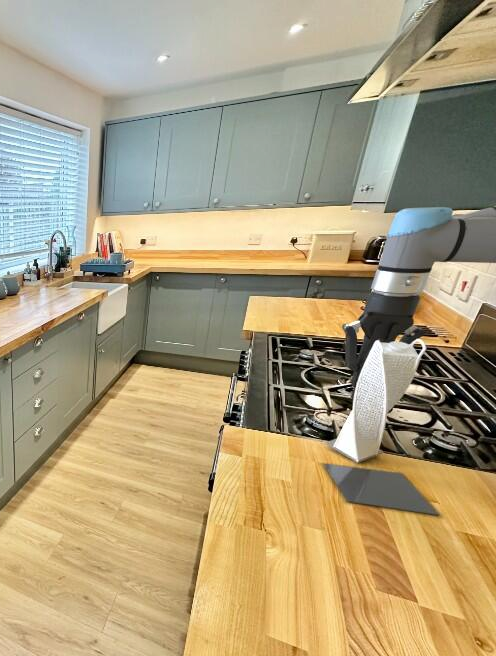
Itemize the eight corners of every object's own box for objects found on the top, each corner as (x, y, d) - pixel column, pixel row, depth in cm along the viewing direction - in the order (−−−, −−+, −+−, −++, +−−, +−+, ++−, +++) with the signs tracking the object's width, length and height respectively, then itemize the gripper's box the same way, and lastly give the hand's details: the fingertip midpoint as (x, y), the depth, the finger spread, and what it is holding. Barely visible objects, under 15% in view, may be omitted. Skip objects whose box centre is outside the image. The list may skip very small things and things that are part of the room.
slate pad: (401, 474, 84) (401, 473, 84) (438, 515, 73) (439, 514, 73) (323, 464, 88) (323, 463, 88) (347, 502, 77) (347, 501, 77)
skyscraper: (390, 457, 88) (447, 339, 74) (360, 469, 87) (412, 351, 72) (350, 434, 95) (394, 323, 81) (321, 445, 94) (361, 333, 79)
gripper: (361, 295, 81) (326, 403, 90) (450, 297, 76) (404, 411, 86) (346, 288, 87) (315, 390, 97) (428, 289, 83) (387, 396, 92)
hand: (357, 400), depth 91 cm, fingers closed
